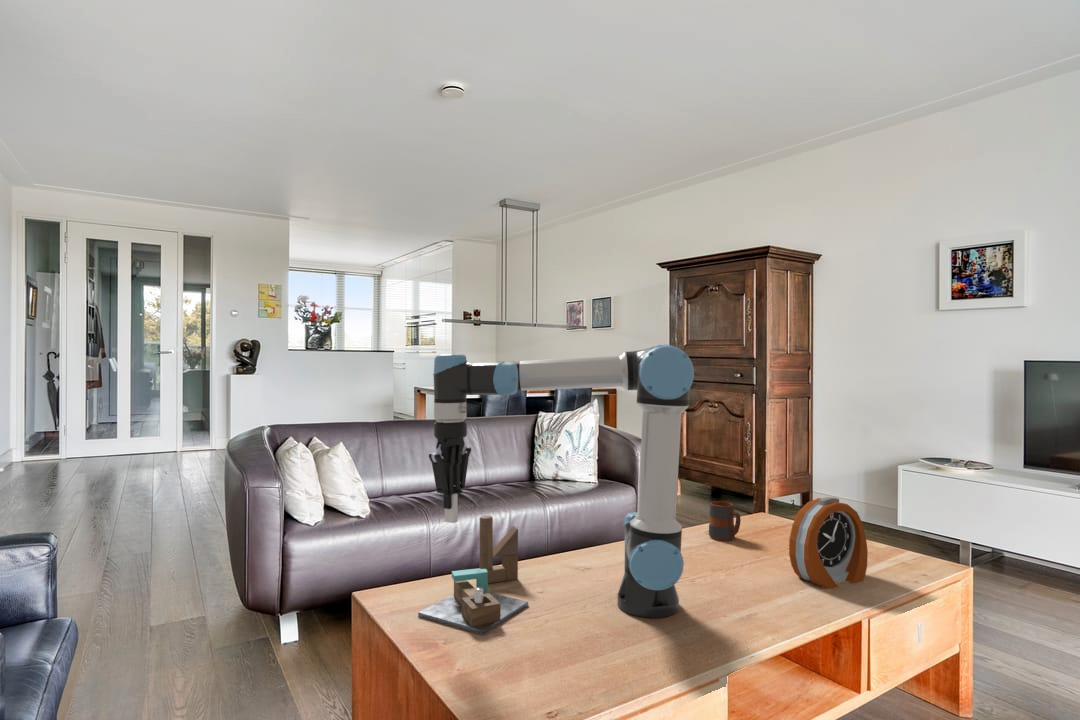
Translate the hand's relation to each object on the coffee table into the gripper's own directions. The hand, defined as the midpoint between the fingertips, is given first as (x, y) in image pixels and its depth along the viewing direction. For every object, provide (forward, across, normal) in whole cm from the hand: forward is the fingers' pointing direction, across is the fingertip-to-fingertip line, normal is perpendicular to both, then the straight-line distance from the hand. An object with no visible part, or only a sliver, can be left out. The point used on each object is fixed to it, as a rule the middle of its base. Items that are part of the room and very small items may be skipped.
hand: (451, 521), depth 145 cm
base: (+24, +8, -1) cm, 25 cm away
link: (+23, +7, -1) cm, 24 cm away
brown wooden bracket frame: (+24, +28, +6) cm, 37 cm away
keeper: (+24, +12, +4) cm, 27 cm away
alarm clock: (+25, +77, -73) cm, 109 cm away
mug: (+24, +100, -38) cm, 109 cm away
